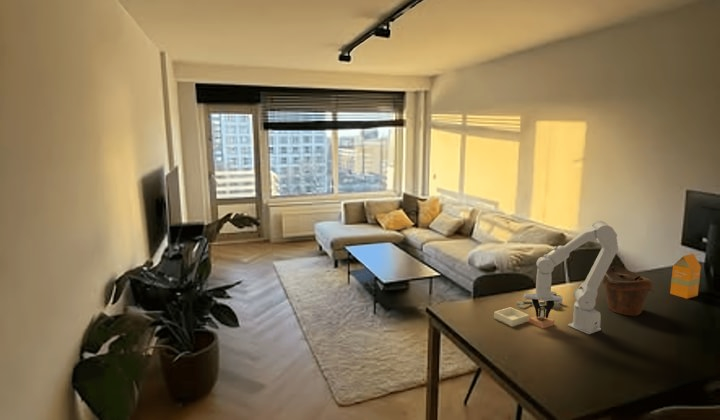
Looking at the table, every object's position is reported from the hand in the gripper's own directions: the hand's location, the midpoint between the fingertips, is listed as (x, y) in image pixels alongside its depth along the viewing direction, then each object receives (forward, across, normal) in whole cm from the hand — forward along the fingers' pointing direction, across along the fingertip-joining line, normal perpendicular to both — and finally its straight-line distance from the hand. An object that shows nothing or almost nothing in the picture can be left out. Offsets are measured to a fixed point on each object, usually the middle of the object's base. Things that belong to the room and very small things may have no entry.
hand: (541, 316), depth 178 cm
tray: (+3, -12, +1) cm, 12 cm away
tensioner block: (+3, 0, 0) cm, 3 cm away
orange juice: (+3, +70, +50) cm, 86 cm away
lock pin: (+3, 0, 0) cm, 3 cm away
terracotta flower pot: (+3, +38, +23) cm, 44 cm away
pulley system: (+4, +4, +23) cm, 24 cm away
